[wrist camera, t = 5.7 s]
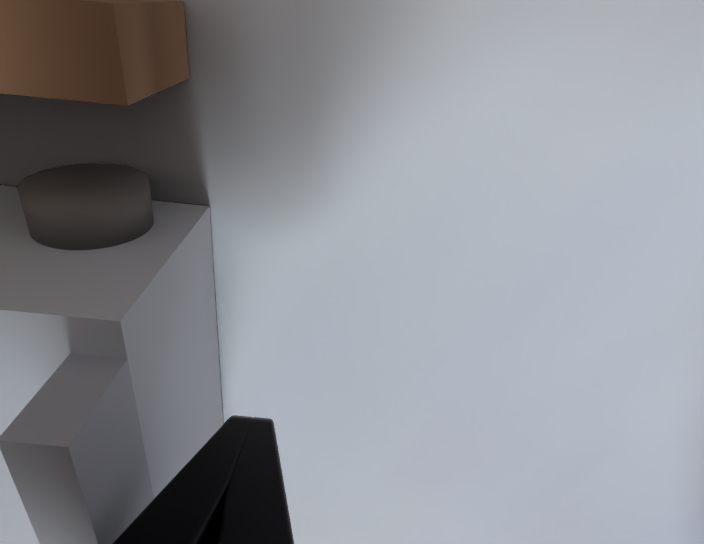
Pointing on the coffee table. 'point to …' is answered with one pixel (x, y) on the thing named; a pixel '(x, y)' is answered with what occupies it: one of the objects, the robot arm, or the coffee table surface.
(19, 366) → the white block with knob
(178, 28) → the bay
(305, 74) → the coffee table surface
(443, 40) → the coffee table surface
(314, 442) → the coffee table surface
